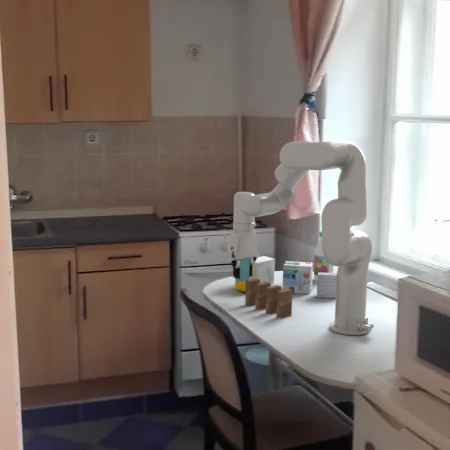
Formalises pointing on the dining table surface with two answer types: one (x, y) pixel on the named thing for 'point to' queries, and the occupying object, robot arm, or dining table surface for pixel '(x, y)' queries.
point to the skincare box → (264, 269)
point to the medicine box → (326, 285)
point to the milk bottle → (321, 260)
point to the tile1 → (284, 303)
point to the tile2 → (272, 299)
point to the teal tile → (244, 270)
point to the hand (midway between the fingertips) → (242, 276)
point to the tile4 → (251, 291)
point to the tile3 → (261, 295)
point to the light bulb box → (298, 277)
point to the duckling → (241, 285)
